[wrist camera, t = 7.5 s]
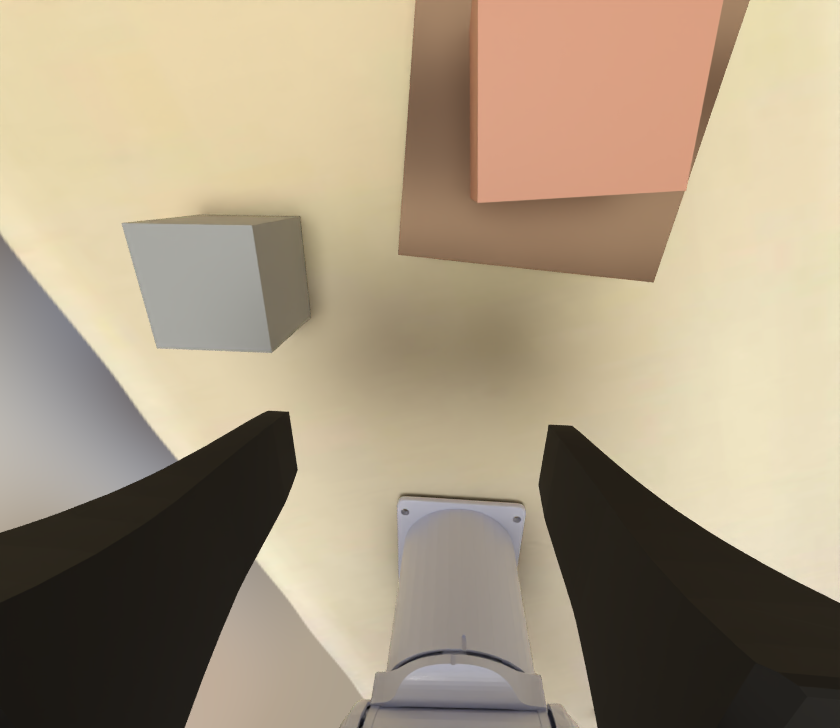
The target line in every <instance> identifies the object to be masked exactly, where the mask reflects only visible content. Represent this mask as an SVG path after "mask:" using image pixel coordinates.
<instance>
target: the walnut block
mask: <svg viewBox="0 0 840 728" xmlns="http://www.w3.org/2000/svg"><path fill="white" fill-rule="evenodd" d="M749 1H750V0H723V5H722V10H721V15H720V20H719V25H718V31H717V36H716V41H715V46H714V51H713V56H712V61H711V66H710V71H709V76H708V81H707V87H706V92H705V97H704V102H703V107H702V112H701V117H700V122H699V127H698V132H697V137H696V143H695V148H694V153H693V158H692V163H691V168H690V173H689V177H690V174H691V171H692V168H693V165H694V162H695V159H696V156H697V153H698V150H699V147H700V144H701V142H702V139H703V136H704V133H705V130H706V127H707V124H708V121H709V118H710V115H711V112H712V109H713V106H714V103H715V100H716V98H717V95H718V92H719V89H720V86H721V83H722V80H723V77H724V74H725V71H726V68H727V65H728V62H729V59H730V56H731V54H732V51H733V48H734V45H735V42H736V39H737V36H738V33H739V30H740V27H741V24H742V21H743V18H744V15H745V13H746V10H747V7H748V4H749ZM471 6H472V0H416V3H415V18H414V32H413V47H412V61H411V76H410V90H409V105H408V119H407V134H406V148H405V163H404V177H403V192H402V206H401V221H400V235H399V250H398V255H406V256H415V257H425V258H434V259H443V260H452V261H462V262H471V263H480V264H489V265H498V266H508V267H517V268H526V269H535V270H544V271H554V272H563V273H572V274H581V275H590V276H600V277H609V278H618V279H627V280H636V281H646V282H654V279H655V276H656V273H657V271H658V268H659V265H660V262H661V259H662V256H663V253H664V250H665V247H666V244H667V241H668V238H669V235H670V232H671V229H672V227H673V224H674V221H675V218H676V215H677V212H678V209H679V206H680V203H681V200H682V197H683V194H684V191H671V192H654V193H637V194H620V195H603V196H587V197H570V198H553V199H536V200H519V201H502V202H486V203H477V202H475V201H474V200H472V199H471V198H470V44H469V27H470V17H471ZM688 180H689V178H688Z"/></svg>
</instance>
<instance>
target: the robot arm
mask: <svg viewBox="0 0 840 728" xmlns="http://www.w3.org/2000/svg"><path fill="white" fill-rule="evenodd" d="M297 470H298V469H297V463H296V456H295V449H294V443H293V436H292V429H291V423H290V416H289V412H281V411H267V412H265V413H262V414H260V415H258V416H257V417H255V418H253V419H251V420H249V421H248V422H246V423H244V424H243V425H241V426H239V427H237V428H236V429H234V430H232V431H231V432H229V433H227V434H225V435H224V436H222V437H220V438H219V439H217V440H215V441H213V442H212V443H210V444H208V445H207V446H205V447H203V448H201V449H199V450H197V451H196V452H194V453H192V454H190V455H188V456H186V457H184V458H183V459H181V460H179V461H177V462H175V463H173V464H172V465H170V466H168V467H166V468H164V469H162V470H160V471H158V472H156V473H154V474H152V475H150V476H148V477H145V478H143V479H141V480H139V481H137V482H135V483H132V484H130V485H128V486H126V487H123V488H121V489H119V490H117V491H115V492H112V493H110V494H108V495H105V496H102V497H99V498H97V499H94V500H92V501H89V502H87V503H84V504H81V505H79V506H76V507H74V508H71V509H68V510H66V511H63V512H61V513H58V514H55V515H53V516H50V517H47V518H44V519H41V520H38V521H35V522H32V523H29V524H26V525H23V526H20V527H17V528H14V529H11V530H8V531H5V532H1V533H0V728H185V725H186V722H187V720H188V717H189V714H190V711H191V708H192V706H193V703H194V701H195V698H196V695H197V692H198V690H199V687H200V684H201V682H202V679H203V676H204V674H205V671H206V669H207V666H208V664H209V661H210V658H211V656H212V653H213V651H214V649H215V646H216V644H217V641H218V638H219V636H220V633H221V631H222V629H223V626H224V624H225V622H226V619H227V617H228V614H229V612H230V609H231V607H232V605H233V603H234V600H235V598H236V596H237V593H238V591H239V589H240V587H241V585H242V583H243V581H244V579H245V577H246V575H247V573H248V571H249V569H250V568H251V566H252V564H253V562H254V560H255V558H256V557H257V555H258V553H259V551H260V549H261V547H262V545H263V544H264V542H265V540H266V538H267V536H268V534H269V533H270V531H271V529H272V527H273V525H274V523H275V521H276V520H277V518H278V516H279V514H280V512H281V510H282V508H283V506H284V504H285V502H286V500H287V497H288V495H289V492H290V490H291V487H292V484H293V482H294V479H295V476H296V473H297ZM539 490H540V496H541V502H542V507H543V513H544V518H545V521H546V525H547V528H548V531H549V535H550V538H551V541H552V544H553V548H554V551H555V554H556V557H557V560H558V563H559V566H560V570H561V573H562V576H563V579H564V582H565V585H566V588H567V592H568V595H569V598H570V601H571V605H572V608H573V612H574V616H575V619H576V624H577V628H578V633H579V638H580V642H581V647H582V651H583V656H584V661H585V665H586V670H587V676H588V681H589V686H590V691H591V696H592V701H593V706H594V711H595V716H596V721H597V727H598V728H840V603H839V602H837V601H835V600H833V599H831V598H829V597H827V596H825V595H823V594H821V593H819V592H817V591H815V590H813V589H811V588H809V587H807V586H805V585H803V584H801V583H799V582H797V581H795V580H793V579H791V578H789V577H787V576H785V575H783V574H781V573H780V572H778V571H776V570H774V569H772V568H770V567H768V566H766V565H765V564H763V563H761V562H759V561H758V560H756V559H754V558H752V557H751V556H749V555H747V554H745V553H744V552H742V551H740V550H738V549H737V548H735V547H733V546H731V545H730V544H728V543H726V542H725V541H723V540H721V539H720V538H718V537H717V536H715V535H713V534H712V533H710V532H708V531H707V530H705V529H704V528H702V527H701V526H699V525H698V524H696V523H695V522H693V521H692V520H690V519H689V518H687V517H686V516H684V515H683V514H681V513H680V512H678V511H677V510H675V509H674V508H672V507H671V506H670V505H668V504H667V503H665V502H664V501H663V500H661V499H660V498H659V497H657V496H656V495H655V494H653V493H652V492H651V491H649V490H648V489H647V488H646V487H644V486H643V485H642V484H640V483H639V482H638V481H637V480H635V479H634V478H633V477H632V476H630V475H629V474H628V473H627V472H625V471H624V470H623V469H622V468H621V467H619V466H618V465H617V464H616V463H615V462H614V461H612V460H611V459H610V458H609V457H608V456H607V455H605V454H604V453H603V452H602V451H601V450H600V449H599V448H597V447H596V446H595V445H594V444H593V443H592V442H591V441H589V440H588V439H587V438H586V437H585V436H584V435H583V434H581V433H580V432H579V431H578V430H577V429H575V428H574V427H573V426H566V425H549V426H548V432H547V438H546V444H545V450H544V455H543V461H542V467H541V473H540V479H539ZM403 509H407V510H408V511H405V510H403ZM516 516H518V518H514V517H516ZM525 516H526V511H525V507H524V506H523V505H522V504H519V503H507V502H491V501H475V500H460V499H444V498H428V497H412V496H402V497H400V498H399V499H398V504H397V519H398V573H399V584H398V591H397V598H396V605H395V613H394V620H393V627H392V634H391V641H390V649H389V656H388V663H387V670H386V672H377V673H376V674H375V680H374V686H373V692H372V698H371V700H365V699H362V700H359V701H358V702H356V703H355V705H354V706H353V707H352V709H351V711H350V713H349V714H348V715H347V716H346V718H345V719H344V720H343V722H342V723H341V725H340V727H339V728H579V726H578V725H577V723H576V722H575V721H574V720H573V719H572V718H571V717H570V716H569V715H568V714H567V712H566V710H565V708H564V707H563V706H562V705H561V704H548V705H547V707H546V701H545V696H544V690H543V685H542V679H541V676H540V675H538V674H535V673H534V667H533V661H532V655H531V649H530V643H529V637H528V631H527V625H526V619H525V613H524V607H523V601H522V595H521V589H520V583H519V577H518V571H517V566H518V560H519V554H520V547H521V541H522V535H523V528H524V522H525Z"/></svg>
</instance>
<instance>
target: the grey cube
mask: <svg viewBox="0 0 840 728" xmlns="http://www.w3.org/2000/svg"><path fill="white" fill-rule="evenodd" d="M122 226H123V230H124V233H125V237H126V241H127V244H128V248H129V251H130V255H131V258H132V262H133V265H134V269H135V272H136V276H137V279H138V283H139V286H140V290H141V293H142V297H143V300H144V304H145V308H146V311H147V315H148V318H149V322H150V325H151V329H152V332H153V336H154V339H155V343H156V346H157V348H164V349H189V350H215V351H240V352H265V353H272V352H273V351H274V350H275V349H277V348H278V347H279V346H280V345H281V344H282V343H283V342H284V341H285V340H286V339H288V338H289V337H290V336H291V335H292V334H293V333H294V332H295V331H296V330H297V329H299V328H300V327H301V326H302V325H303V324H304V323H305V322H306V321H307V320H309V319H310V318H311V313H310V304H309V295H308V286H307V276H306V267H305V258H304V249H303V239H302V230H301V221H300V216H237V215H194V216H184V217H175V218H166V219H156V220H147V221H137V222H128V223H122Z"/></svg>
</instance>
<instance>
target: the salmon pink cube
mask: <svg viewBox="0 0 840 728" xmlns="http://www.w3.org/2000/svg"><path fill="white" fill-rule="evenodd" d="M722 5H723V0H472V6H471V17H470V27H469V44H470V198H471V199H472V200H474V201H475V202H477V203H486V202H502V201H519V200H536V199H553V198H570V197H587V196H603V195H620V194H637V193H654V192H671V191H686V188H687V183H688V178H689V173H690V168H691V163H692V158H693V153H694V148H695V143H696V137H697V132H698V127H699V122H700V117H701V112H702V107H703V102H704V97H705V92H706V87H707V81H708V76H709V71H710V66H711V61H712V56H713V51H714V46H715V41H716V36H717V31H718V25H719V20H720V15H721V10H722Z"/></svg>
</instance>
